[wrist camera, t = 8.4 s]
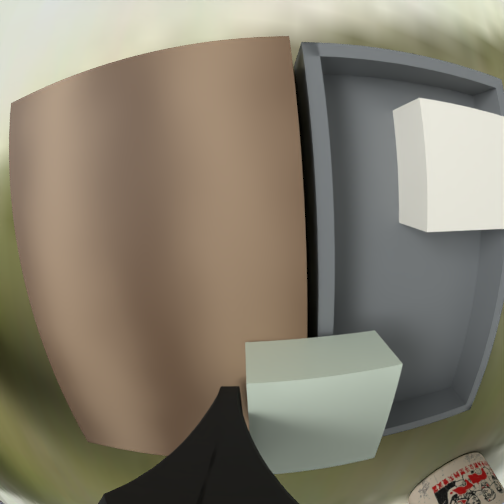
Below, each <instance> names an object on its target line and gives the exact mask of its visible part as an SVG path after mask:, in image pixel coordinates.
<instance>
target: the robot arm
mask: <svg viewBox="0 0 504 504" xmlns="http://www.w3.org/2000/svg"><path fill="white" fill-rule="evenodd" d="M0 504H4V503H3V502H2V501H0ZM98 504H299V503H298V502H297V501H296V500H295V499H294V498H293V497H292V496H291V495H290V494H289V493H288V492H287V491H286V489H285V488H284V487H283V486H282V485H281V484H280V482H279V481H278V480H277V478H276V477H275V476H274V474H273V473H272V472H271V470H270V469H269V467H268V466H267V464H266V463H265V461H264V460H263V458H262V456H261V455H260V453H259V451H258V449H257V447H256V445H255V443H254V441H253V439H252V437H251V435H250V433H249V430H248V428H247V425H246V422H245V419H244V416H243V409H242V401H241V393H240V388H239V386H221V387H220V389H219V392H218V395H217V397H216V398H215V400H214V402H213V403H212V405H211V406H210V408H209V410H208V411H207V412H206V414H205V415H204V417H203V418H202V419H201V421H200V422H199V423H198V425H197V426H196V427H195V428H194V430H193V431H192V432H191V433H190V434H189V436H188V437H187V438H186V439H185V440H184V441H183V442H182V443H181V444H180V445H179V446H178V447H177V448H176V449H175V450H174V451H173V452H172V453H171V454H169V455H168V456H167V457H166V458H165V459H163V460H162V461H161V462H160V463H159V464H157V465H156V466H155V467H153V468H152V469H150V470H149V471H147V472H146V473H144V474H143V475H141V476H139V477H138V478H136V479H135V480H133V481H131V482H129V483H127V484H125V485H123V486H121V487H119V488H117V489H115V490H112V491H110V492H108V493H105V494H104V495H103V497H102V498H101V500H100V501H99V503H98ZM502 504H504V502H503V503H502Z"/></svg>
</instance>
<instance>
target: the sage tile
mask: <svg viewBox="0 0 504 504" xmlns="http://www.w3.org/2000/svg"><path fill="white" fill-rule="evenodd" d="M245 354H246V386H247V401H248V416H249V431H250V435H251V437H252V439H253V441H254V443H255V445H256V447H257V449H258V451H259V453H260V455H261V456H262V458H263V460H264V461H265V463H266V464H267V466H268V467H269V469H270V470H271V472H272V473H273V474H281V473H291V472H300V471H308V470H315V469H321V468H327V467H333V466H339V465H344V464H349V463H353V462H358V461H362V460H367V459H371V458H374V457H375V454H376V452H377V449H378V446H379V443H380V441H381V438H382V435H383V432H384V429H385V426H386V423H387V420H388V417H389V413H390V410H391V407H392V403H393V400H394V396H395V393H396V389H397V385H398V381H399V378H400V374H401V369H402V365H403V364H402V362H401V361H400V360H399V359H398V357H397V356H396V355H395V354H394V353H393V351H392V350H391V349H390V348H389V347H388V345H387V344H386V343H385V342H384V341H383V339H382V338H381V337H380V336H379V335H378V334H377V332H376V331H375V330H374V331H367V332H359V333H351V334H342V335H333V336H324V337H314V338H302V339H290V340H276V341H259V342H245Z"/></svg>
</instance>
